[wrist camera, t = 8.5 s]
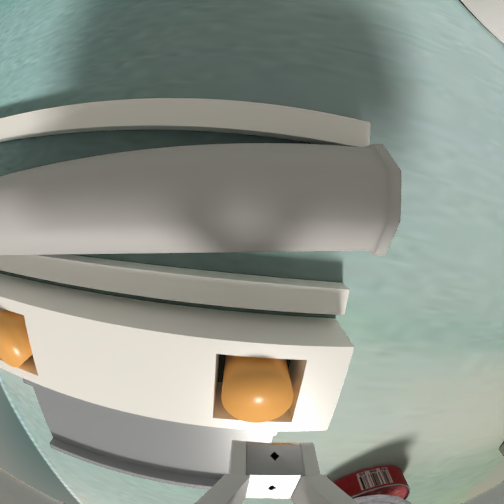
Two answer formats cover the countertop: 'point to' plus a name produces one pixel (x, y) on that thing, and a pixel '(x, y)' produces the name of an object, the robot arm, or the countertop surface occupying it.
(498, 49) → the countertop surface
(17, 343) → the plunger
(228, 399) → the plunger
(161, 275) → the housing
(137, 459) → the tray
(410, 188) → the countertop surface
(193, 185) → the tube
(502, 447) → the skincare box
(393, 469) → the canned food
